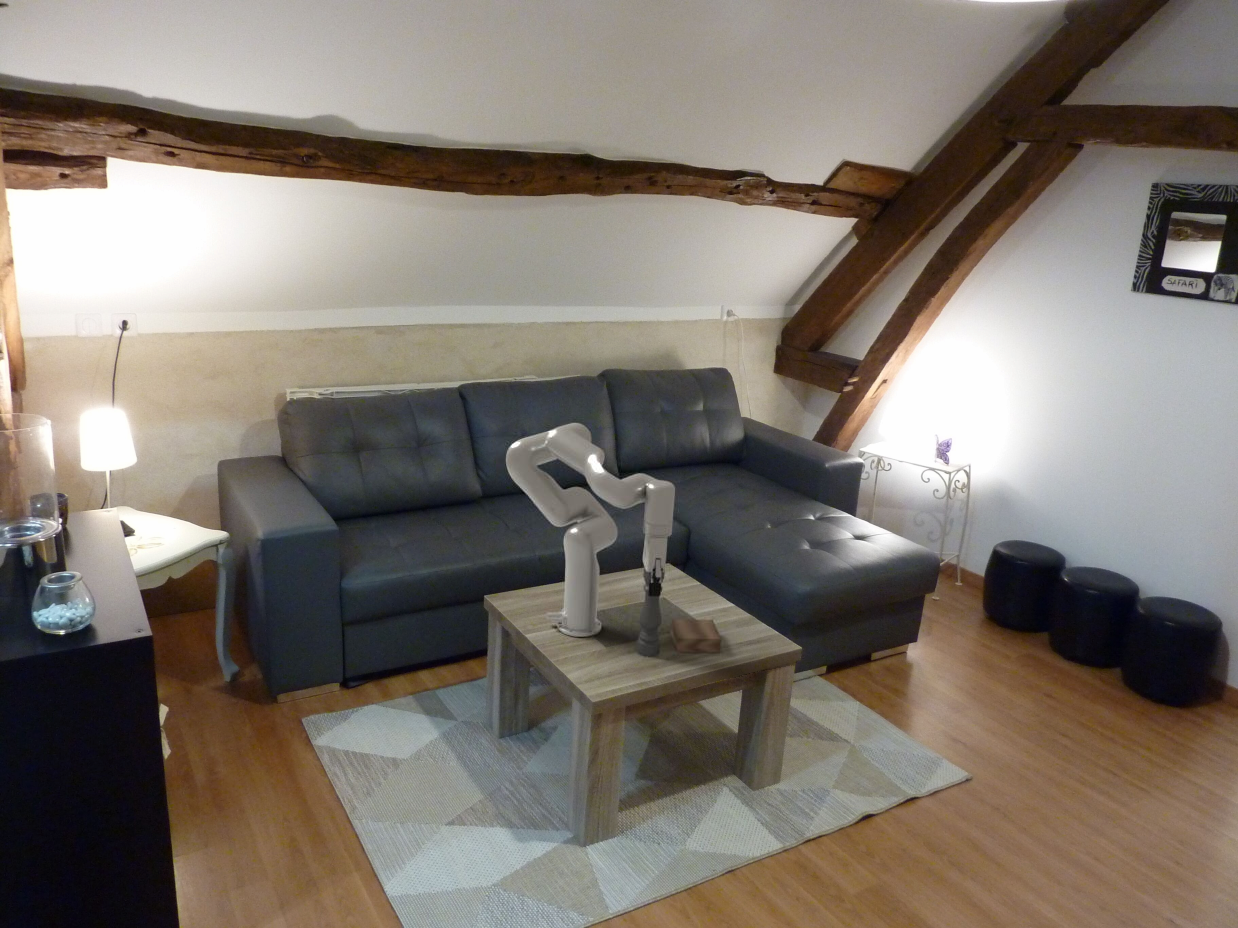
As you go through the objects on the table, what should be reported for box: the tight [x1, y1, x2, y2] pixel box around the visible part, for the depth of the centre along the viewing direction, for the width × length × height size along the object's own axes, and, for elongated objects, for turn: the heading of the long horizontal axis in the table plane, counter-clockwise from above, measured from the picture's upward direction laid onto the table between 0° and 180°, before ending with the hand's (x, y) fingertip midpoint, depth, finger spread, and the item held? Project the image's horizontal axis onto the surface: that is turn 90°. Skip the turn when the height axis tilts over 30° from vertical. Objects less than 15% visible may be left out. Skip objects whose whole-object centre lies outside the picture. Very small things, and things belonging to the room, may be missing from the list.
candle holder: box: [636, 566, 666, 658], centre depth 257 cm, size 6×6×25 cm
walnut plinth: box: [670, 618, 722, 653], centre depth 267 cm, size 12×12×4 cm
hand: (652, 590), depth 255 cm, fingers closed on candle holder, 5 cm apart
